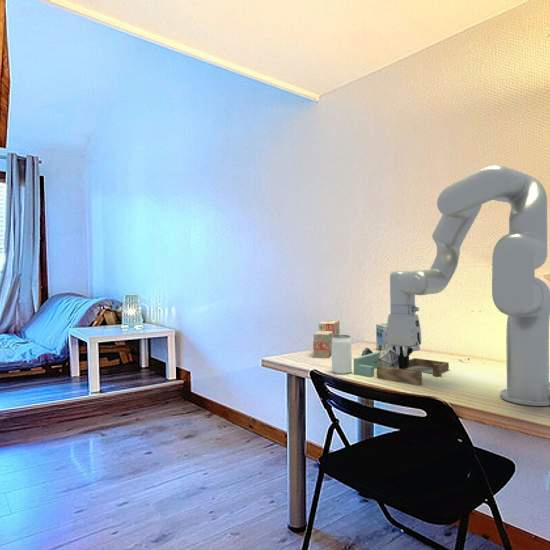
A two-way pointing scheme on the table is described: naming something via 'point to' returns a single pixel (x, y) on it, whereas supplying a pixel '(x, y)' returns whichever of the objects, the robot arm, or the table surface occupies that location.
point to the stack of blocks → (325, 338)
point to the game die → (388, 358)
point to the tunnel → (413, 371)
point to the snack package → (366, 352)
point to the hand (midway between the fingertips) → (403, 367)
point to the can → (341, 354)
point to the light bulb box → (381, 336)
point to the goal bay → (366, 364)
